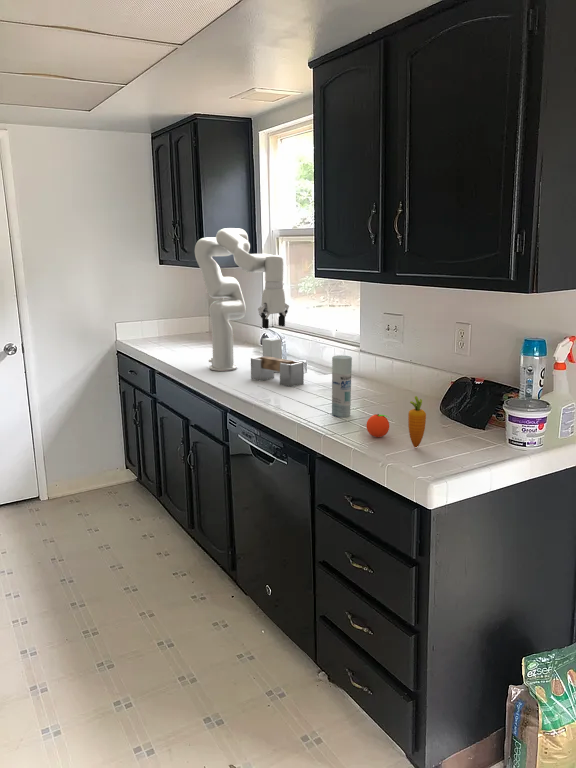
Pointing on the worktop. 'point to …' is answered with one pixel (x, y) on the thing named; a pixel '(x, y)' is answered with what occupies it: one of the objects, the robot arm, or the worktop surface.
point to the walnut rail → (273, 363)
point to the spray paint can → (341, 385)
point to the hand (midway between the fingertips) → (273, 327)
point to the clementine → (377, 425)
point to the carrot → (416, 422)
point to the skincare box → (272, 348)
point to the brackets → (288, 372)
